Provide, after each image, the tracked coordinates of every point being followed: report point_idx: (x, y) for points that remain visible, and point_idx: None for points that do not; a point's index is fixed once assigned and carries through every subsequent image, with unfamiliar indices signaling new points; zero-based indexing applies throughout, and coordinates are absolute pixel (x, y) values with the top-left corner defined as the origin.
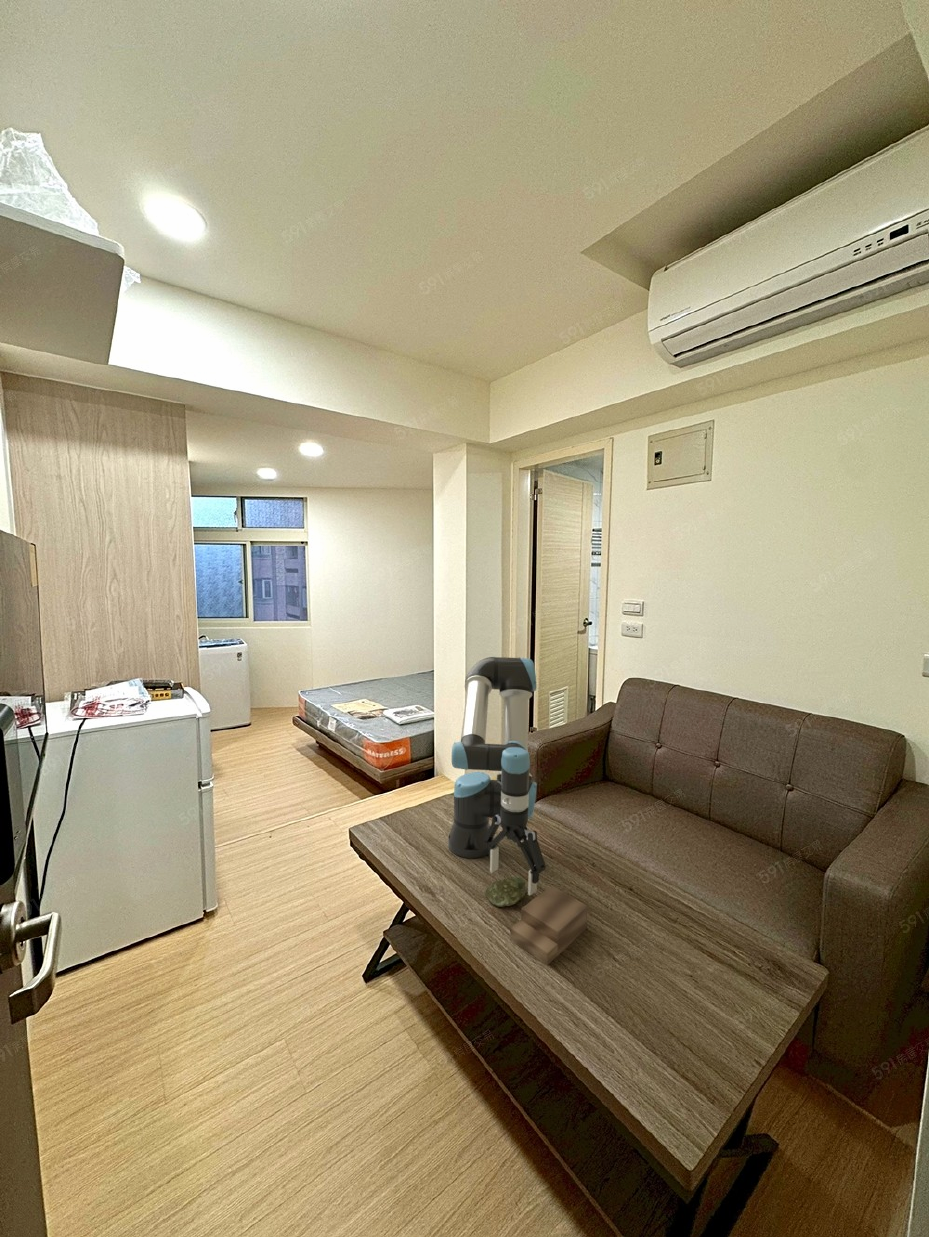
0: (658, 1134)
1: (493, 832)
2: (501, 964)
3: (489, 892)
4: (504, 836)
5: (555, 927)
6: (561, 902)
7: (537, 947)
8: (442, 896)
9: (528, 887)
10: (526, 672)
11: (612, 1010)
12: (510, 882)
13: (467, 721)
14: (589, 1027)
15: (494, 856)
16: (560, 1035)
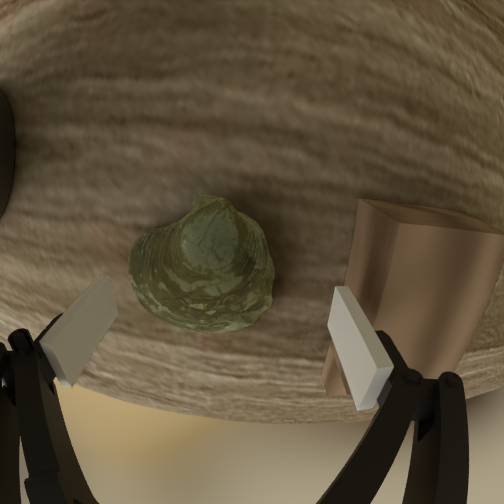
0: (500, 385)
1: (5, 435)
2: (337, 411)
3: (162, 316)
4: (70, 471)
5: (446, 368)
6: (453, 285)
7: None
8: (101, 369)
9: (336, 345)
10: None
11: (494, 340)
12: (203, 289)
13: None
14: (469, 376)
15: (83, 346)
16: None
